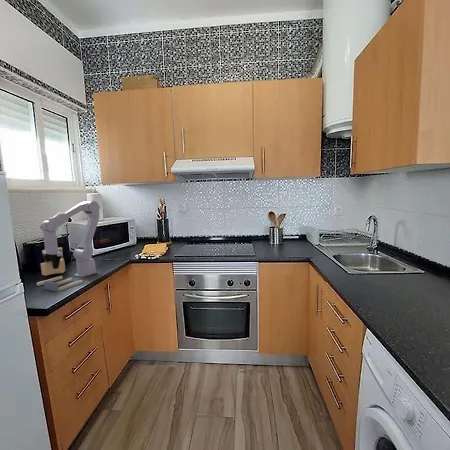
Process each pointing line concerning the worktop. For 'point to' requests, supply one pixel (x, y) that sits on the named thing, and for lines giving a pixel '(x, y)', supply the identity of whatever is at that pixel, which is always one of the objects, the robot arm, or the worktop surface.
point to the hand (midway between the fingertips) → (53, 268)
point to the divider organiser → (54, 286)
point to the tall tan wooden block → (48, 267)
